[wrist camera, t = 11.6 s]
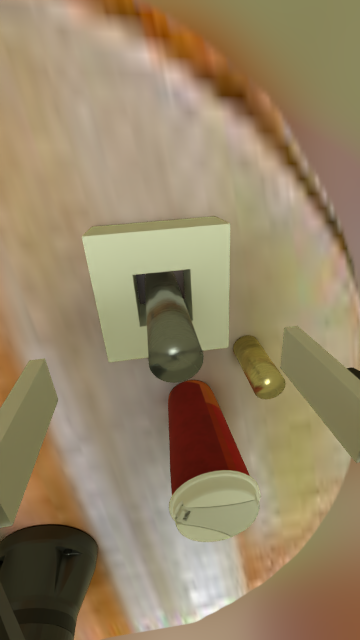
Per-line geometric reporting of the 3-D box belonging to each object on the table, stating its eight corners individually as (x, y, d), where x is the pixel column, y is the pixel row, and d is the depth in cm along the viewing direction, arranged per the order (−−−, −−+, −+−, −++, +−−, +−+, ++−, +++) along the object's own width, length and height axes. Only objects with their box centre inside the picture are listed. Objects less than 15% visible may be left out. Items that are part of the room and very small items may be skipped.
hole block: (113, 335, 30) (108, 362, 25) (92, 226, 25) (81, 236, 21) (215, 323, 31) (228, 347, 26) (214, 216, 26) (230, 223, 21)
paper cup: (152, 417, 36) (159, 544, 23) (169, 367, 33) (187, 483, 20) (210, 424, 37) (245, 546, 25) (231, 378, 34) (282, 490, 22)
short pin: (232, 358, 33) (252, 400, 27) (234, 336, 32) (256, 374, 26) (256, 356, 33) (282, 397, 27) (260, 334, 32) (287, 372, 26)
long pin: (146, 295, 28) (151, 385, 16) (143, 266, 27) (145, 339, 15) (176, 292, 29) (204, 378, 16) (174, 263, 27) (202, 333, 15)
